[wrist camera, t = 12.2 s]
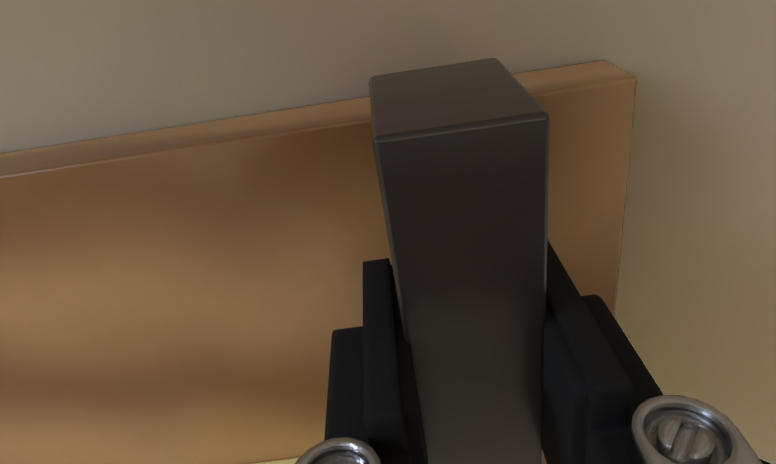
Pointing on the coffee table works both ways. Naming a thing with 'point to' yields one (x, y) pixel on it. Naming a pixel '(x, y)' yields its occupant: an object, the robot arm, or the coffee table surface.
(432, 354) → the knife
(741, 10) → the coffee table surface
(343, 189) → the cutting board
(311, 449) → the robot arm
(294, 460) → the butter block
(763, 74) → the coffee table surface
